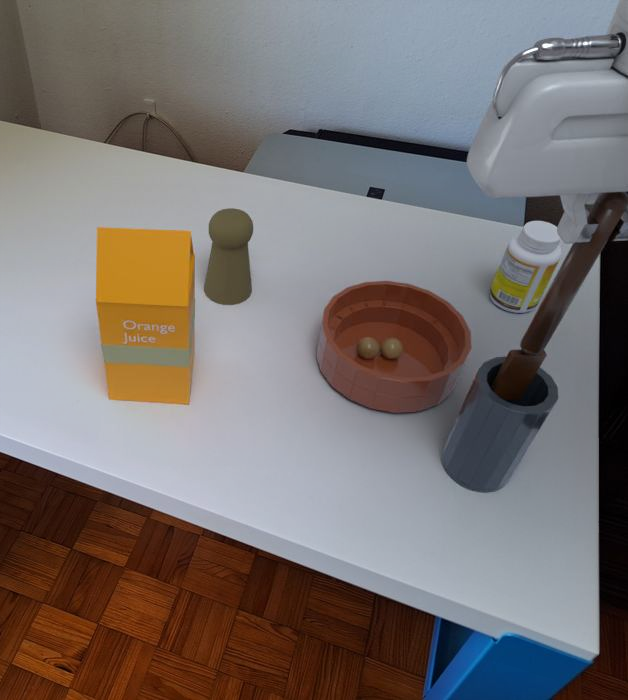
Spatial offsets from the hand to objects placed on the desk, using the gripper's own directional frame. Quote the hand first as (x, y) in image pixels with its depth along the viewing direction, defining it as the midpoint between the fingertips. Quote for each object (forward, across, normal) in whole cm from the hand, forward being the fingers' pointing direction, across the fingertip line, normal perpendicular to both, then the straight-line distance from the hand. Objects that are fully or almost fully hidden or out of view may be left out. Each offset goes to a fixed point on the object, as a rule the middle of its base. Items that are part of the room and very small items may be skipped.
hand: (594, 237), depth 47 cm
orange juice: (+28, -31, +14) cm, 44 cm away
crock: (+27, 0, 0) cm, 27 cm away
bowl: (+27, -5, +14) cm, 31 cm away
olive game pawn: (+28, -21, +28) cm, 45 cm away
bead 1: (+26, -7, +15) cm, 30 cm away
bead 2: (+26, -4, +14) cm, 30 cm away
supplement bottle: (+28, +13, +23) cm, 38 cm away
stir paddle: (+18, 0, +1) cm, 18 cm away
